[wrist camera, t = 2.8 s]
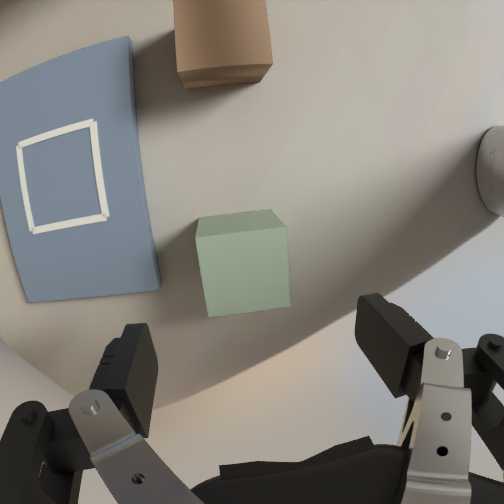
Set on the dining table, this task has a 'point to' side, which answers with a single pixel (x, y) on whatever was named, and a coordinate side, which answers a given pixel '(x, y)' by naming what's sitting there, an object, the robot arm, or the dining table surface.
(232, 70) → the walnut block
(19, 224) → the blueprint board
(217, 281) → the green block
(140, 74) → the dining table surface
